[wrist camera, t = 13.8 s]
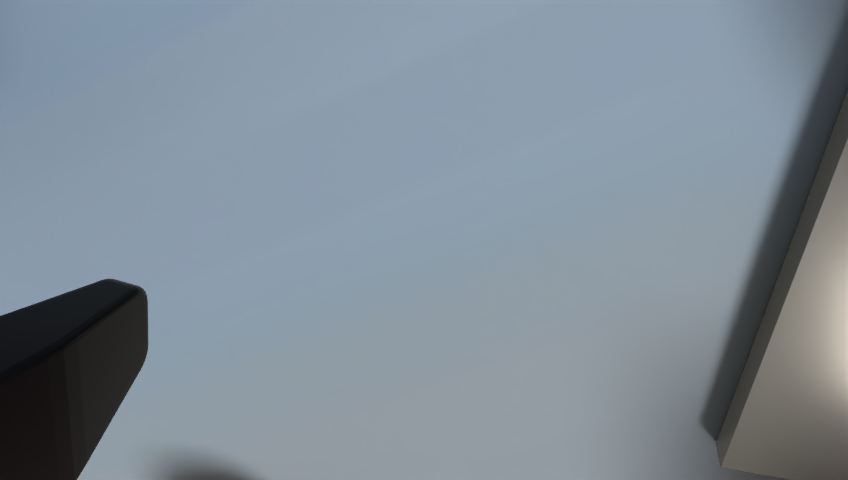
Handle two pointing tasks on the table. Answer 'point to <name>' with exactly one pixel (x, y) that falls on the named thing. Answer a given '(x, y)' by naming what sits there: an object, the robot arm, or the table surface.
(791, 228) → the table surface
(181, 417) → the table surface
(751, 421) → the slate tile
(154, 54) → the table surface
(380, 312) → the table surface
